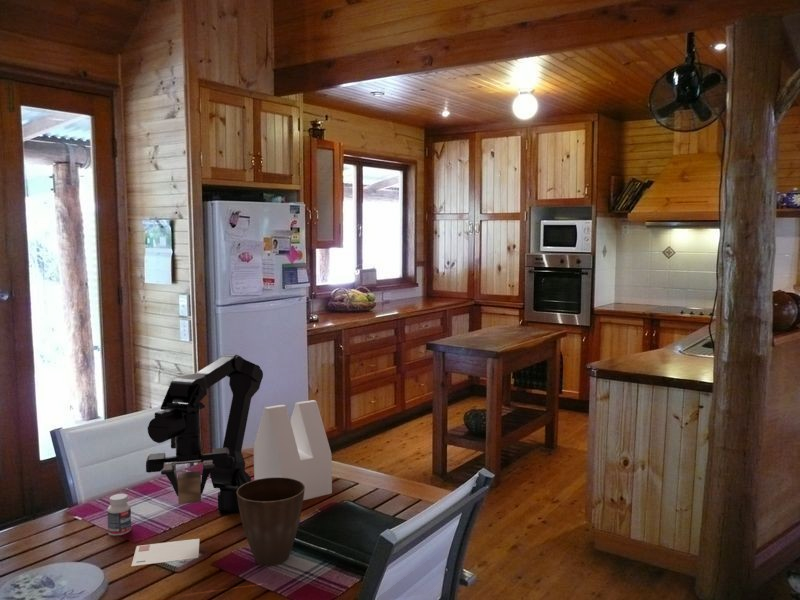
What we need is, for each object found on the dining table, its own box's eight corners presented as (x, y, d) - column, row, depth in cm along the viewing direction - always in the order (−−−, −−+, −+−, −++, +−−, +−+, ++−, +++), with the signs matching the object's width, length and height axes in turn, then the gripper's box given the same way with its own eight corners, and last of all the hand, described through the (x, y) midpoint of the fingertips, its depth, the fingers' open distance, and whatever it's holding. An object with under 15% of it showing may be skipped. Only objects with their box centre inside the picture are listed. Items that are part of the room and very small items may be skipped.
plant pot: (248, 542, 153) (246, 476, 152) (310, 543, 152) (309, 477, 151) (229, 574, 138) (227, 501, 137) (299, 574, 138) (297, 502, 136)
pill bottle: (122, 537, 156) (121, 501, 155) (103, 535, 157) (102, 500, 156) (135, 528, 161) (134, 493, 160) (117, 526, 162) (115, 492, 161)
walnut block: (201, 494, 158) (200, 470, 158) (200, 502, 153) (199, 477, 153) (179, 496, 157) (178, 472, 156) (178, 504, 152) (177, 479, 151)
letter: (199, 539, 154) (199, 538, 154) (198, 558, 145) (198, 557, 145) (136, 547, 151) (136, 545, 151) (131, 567, 141) (131, 565, 141)
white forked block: (331, 493, 184) (330, 407, 182) (281, 506, 175) (280, 415, 173) (301, 474, 199) (300, 394, 197) (254, 484, 191) (252, 401, 189)
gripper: (227, 418, 164) (229, 478, 165) (149, 424, 159) (151, 486, 160) (228, 431, 153) (230, 494, 155) (144, 437, 148) (147, 503, 150)
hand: (190, 494), depth 155 cm, fingers closed on walnut block, 5 cm apart
